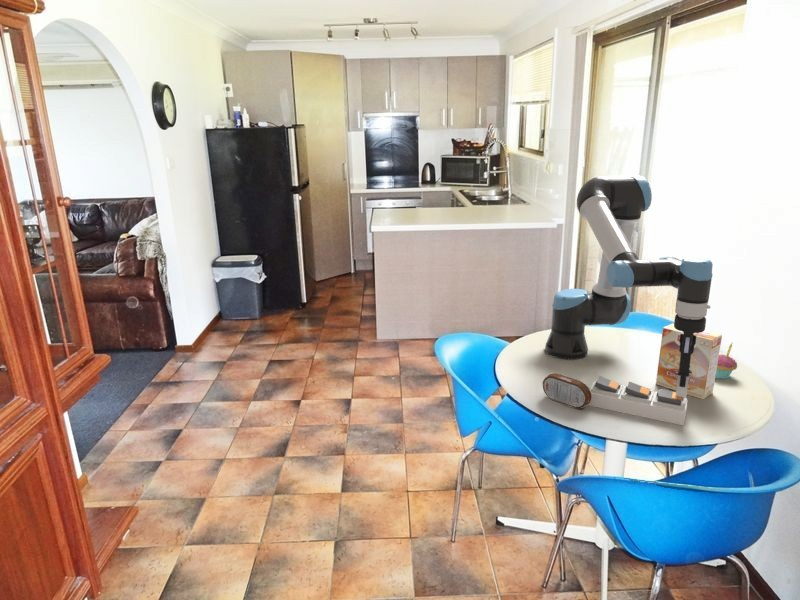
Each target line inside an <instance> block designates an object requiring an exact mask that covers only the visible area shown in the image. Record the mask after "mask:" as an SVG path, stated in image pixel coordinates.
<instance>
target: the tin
mask: <svg viewBox="0 0 800 600" xmlns="http://www.w3.org/2000/svg"><path fill="white" fill-rule="evenodd" d="M542 390H543V392H544V394H545V396H546V397H547V398H548V399H549V400H552V401H554V402H557V403H559V404H563V405H565V406H567V407H570V408H573V409H576V410H579V409H583V408H585V407H586V406H589V405H588V404H589V403H590V401H591V392H590V388H589V386H587V384H585V382H583V381H581V380H578V379H575V378H572V377H570V376H566V375H563V374H561V373H557V372H552V373H550V374H548V375H547V376H545V377H544V379H543V381H542Z"/></svg>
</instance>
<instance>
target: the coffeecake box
mask: <svg viewBox="0 0 800 600" xmlns="http://www.w3.org/2000/svg"><path fill="white" fill-rule="evenodd" d="M680 334H684V332H682V331H679V330H677V329H675V327H674V322H673V323H670V324H669V325H666V326H663V328H662V332H661V339H660V340H661V342H660V348H659V349H660V350H659V355H658V356H659V357H658V363H657V365H658V366H657V370H656V372H657V373H656V378H655V379H656V380H655V385H658V386H661V387H663V386H664V388H667V389H668V390H669V389H670V390H673V391H676V388H677V380H678V375H676V372H679V365H680V357H681V352H680V351H679V349H680V342H679V340H680ZM693 334H694V335H697V336H696V344H695V345H694V351H693V354H691V359H690V368H689V370H691V371H692V374H691V373H689V381H688V389H687V396H692V397H695V398H697V399H699V400H705V399H706V398H707V397H709V396H711V395H712V394H713V392H714V387H715V381H716V380H715V379H716V377H715V376H716V370H717V363H718V357H719V355H720V352H721V345H722V338H723V335H722V334H719V333H715V332H712V331H711V332H710V331H708V330H707V331H706V330H704V331H703V332H701V333H693Z"/></svg>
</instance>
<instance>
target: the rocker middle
mask: <svg viewBox="0 0 800 600" xmlns="http://www.w3.org/2000/svg"><path fill="white" fill-rule="evenodd" d="M626 386H627V389H626V391H625V393H627V394H630V395H632V396H635V397H639V398H644V399H647V398H648V395H649V392H650V390H651V389H650V388H648V387H645V386H643V385H640V384H638V383H634V382H631V381H628V384H627V385H626Z"/></svg>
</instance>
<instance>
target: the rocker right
mask: <svg viewBox="0 0 800 600" xmlns="http://www.w3.org/2000/svg"><path fill="white" fill-rule="evenodd" d="M658 392H659V393H658V398H657V401H661V402H665V403H669V404H674V405H679V406H681V400H682V397H679V396H676V391H672V390H669V389H668V390H667V389H662V388H659V390H658Z"/></svg>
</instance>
